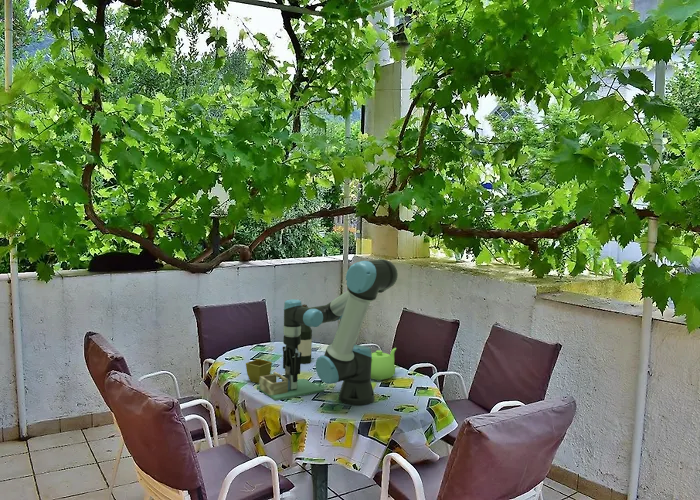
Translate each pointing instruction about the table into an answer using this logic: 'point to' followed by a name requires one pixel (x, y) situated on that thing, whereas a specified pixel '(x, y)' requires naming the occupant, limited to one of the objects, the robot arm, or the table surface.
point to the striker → (288, 375)
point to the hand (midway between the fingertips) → (291, 387)
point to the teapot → (382, 365)
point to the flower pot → (258, 369)
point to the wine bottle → (305, 343)
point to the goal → (273, 384)
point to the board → (297, 390)
